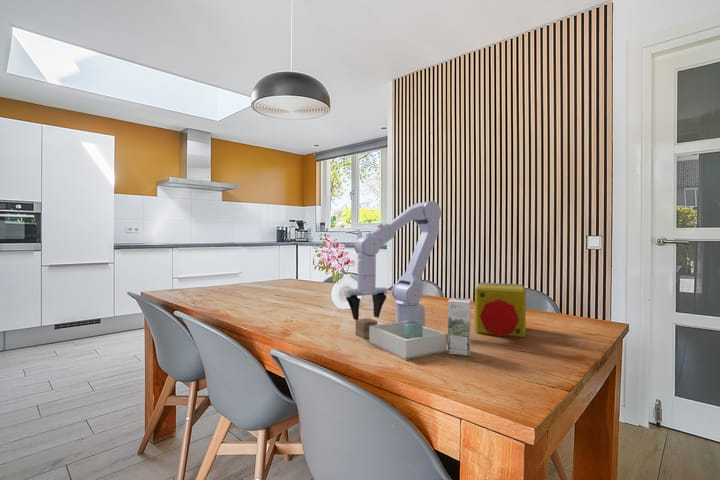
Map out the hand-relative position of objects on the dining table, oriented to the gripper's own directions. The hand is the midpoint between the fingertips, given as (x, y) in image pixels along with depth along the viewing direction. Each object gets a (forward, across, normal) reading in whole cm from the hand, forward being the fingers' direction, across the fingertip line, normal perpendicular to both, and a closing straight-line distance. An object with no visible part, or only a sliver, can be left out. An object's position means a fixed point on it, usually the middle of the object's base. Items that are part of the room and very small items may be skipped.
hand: (366, 318), depth 116 cm
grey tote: (+6, -4, +16) cm, 17 cm away
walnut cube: (+6, 0, 0) cm, 6 cm away
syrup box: (+6, -13, +27) cm, 31 cm away
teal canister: (+5, -3, +20) cm, 21 cm away
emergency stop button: (+6, -39, +19) cm, 44 cm away
